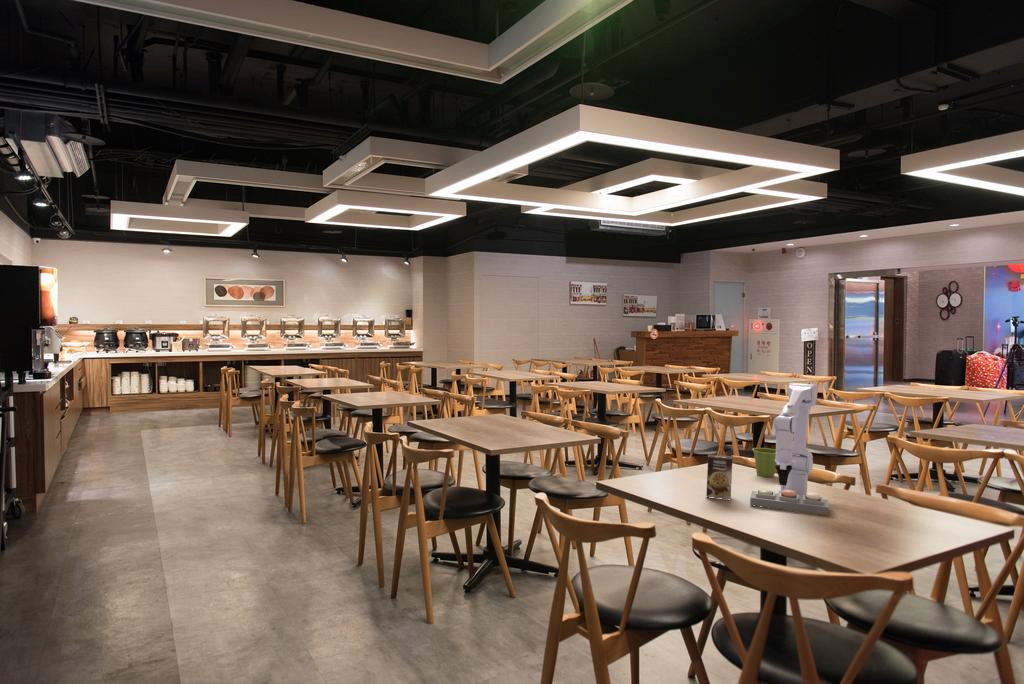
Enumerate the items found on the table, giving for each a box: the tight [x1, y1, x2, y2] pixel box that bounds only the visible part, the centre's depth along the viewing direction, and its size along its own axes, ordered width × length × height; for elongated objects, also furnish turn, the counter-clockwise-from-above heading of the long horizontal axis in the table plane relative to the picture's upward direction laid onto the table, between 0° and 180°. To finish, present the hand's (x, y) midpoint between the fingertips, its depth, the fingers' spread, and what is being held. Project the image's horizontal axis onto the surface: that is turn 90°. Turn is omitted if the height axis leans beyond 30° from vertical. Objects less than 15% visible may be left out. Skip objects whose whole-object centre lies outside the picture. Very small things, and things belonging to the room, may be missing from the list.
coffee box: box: [705, 453, 733, 500], centre depth 245 cm, size 9×6×16 cm
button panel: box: [749, 489, 830, 517], centre depth 234 cm, size 26×11×4 cm, turn 66°
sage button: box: [758, 489, 773, 495], centre depth 238 cm, size 4×4×2 cm
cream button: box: [806, 492, 821, 500], centre depth 231 cm, size 4×4×2 cm
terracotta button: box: [783, 490, 796, 497], centre depth 234 cm, size 4×4×2 cm
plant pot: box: [751, 447, 778, 478], centre depth 282 cm, size 12×12×11 cm
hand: (783, 484), depth 235 cm, fingers closed
